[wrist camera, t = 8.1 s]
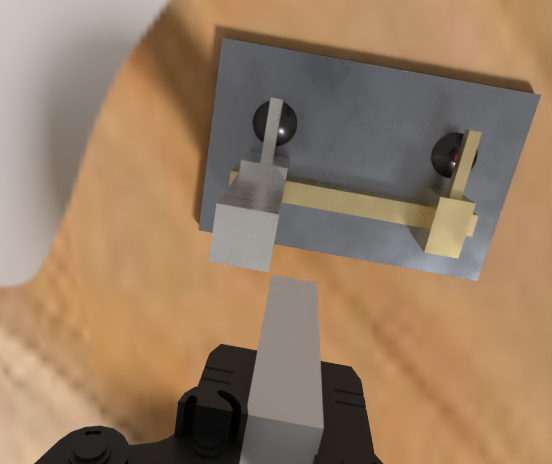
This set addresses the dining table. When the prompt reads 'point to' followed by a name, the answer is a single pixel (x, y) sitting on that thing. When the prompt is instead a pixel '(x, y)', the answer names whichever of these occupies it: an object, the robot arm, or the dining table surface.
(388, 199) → the gauge rail
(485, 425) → the dining table surface
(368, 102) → the bolt plate
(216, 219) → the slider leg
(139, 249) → the dining table surface
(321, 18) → the dining table surface
